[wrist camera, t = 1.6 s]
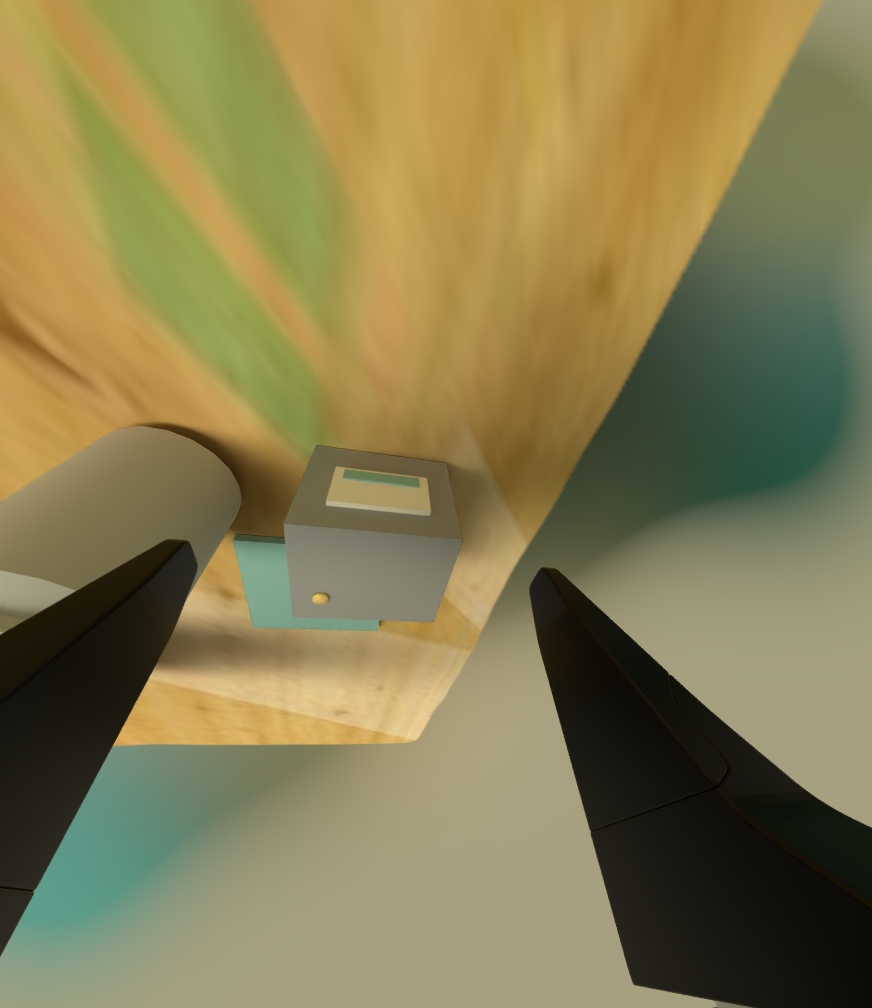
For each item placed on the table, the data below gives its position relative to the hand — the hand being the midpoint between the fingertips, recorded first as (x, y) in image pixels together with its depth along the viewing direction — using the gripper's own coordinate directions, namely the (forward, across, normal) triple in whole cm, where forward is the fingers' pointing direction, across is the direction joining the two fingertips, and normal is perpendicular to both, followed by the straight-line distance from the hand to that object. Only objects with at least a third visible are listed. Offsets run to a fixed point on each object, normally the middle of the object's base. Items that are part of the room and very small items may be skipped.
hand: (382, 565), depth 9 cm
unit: (+12, 0, +7) cm, 14 cm away
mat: (+12, +4, +17) cm, 21 cm away
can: (+12, +12, +7) cm, 18 cm away
